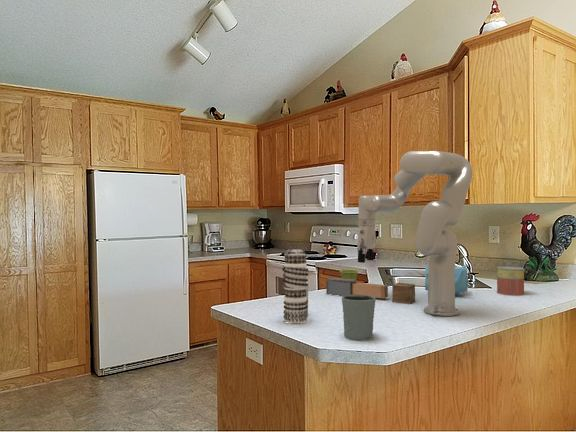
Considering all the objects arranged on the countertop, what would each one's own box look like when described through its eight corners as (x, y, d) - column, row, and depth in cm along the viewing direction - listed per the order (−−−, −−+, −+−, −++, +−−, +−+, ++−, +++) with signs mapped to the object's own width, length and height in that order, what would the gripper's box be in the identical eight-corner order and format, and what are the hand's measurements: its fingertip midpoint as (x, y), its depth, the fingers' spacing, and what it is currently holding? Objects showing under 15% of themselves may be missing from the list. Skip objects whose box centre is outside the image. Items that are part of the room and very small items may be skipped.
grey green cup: (336, 337, 127) (336, 298, 127) (349, 329, 136) (349, 292, 136) (368, 343, 122) (368, 301, 122) (380, 334, 130) (380, 295, 130)
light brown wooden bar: (384, 298, 181) (384, 286, 181) (330, 292, 196) (330, 281, 196) (387, 296, 185) (387, 285, 185) (334, 291, 199) (334, 280, 199)
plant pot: (362, 287, 213) (362, 270, 213) (351, 290, 206) (351, 272, 206) (346, 285, 219) (346, 269, 219) (336, 288, 212) (335, 271, 212)
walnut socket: (410, 304, 174) (410, 286, 174) (392, 302, 178) (392, 285, 178) (415, 301, 180) (415, 284, 180) (397, 299, 184) (397, 282, 184)
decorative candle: (279, 323, 144) (278, 250, 144) (286, 317, 153) (286, 248, 153) (305, 325, 142) (304, 251, 141) (311, 318, 150) (310, 249, 150)
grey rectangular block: (350, 297, 189) (350, 281, 189) (326, 294, 195) (326, 279, 195) (356, 294, 195) (356, 279, 194) (333, 292, 201) (333, 277, 201)
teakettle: (424, 297, 188) (424, 264, 188) (426, 290, 206) (426, 260, 206) (470, 300, 182) (470, 266, 181) (468, 292, 199) (468, 261, 199)
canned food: (505, 290, 204) (505, 265, 204) (529, 294, 194) (529, 268, 194) (492, 293, 198) (491, 267, 197) (516, 296, 188) (516, 270, 188)
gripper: (366, 224, 179) (366, 264, 179) (381, 222, 193) (380, 260, 194) (350, 223, 183) (349, 262, 183) (366, 222, 197) (365, 258, 198)
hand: (365, 261), depth 189 cm, fingers open, 9 cm apart
